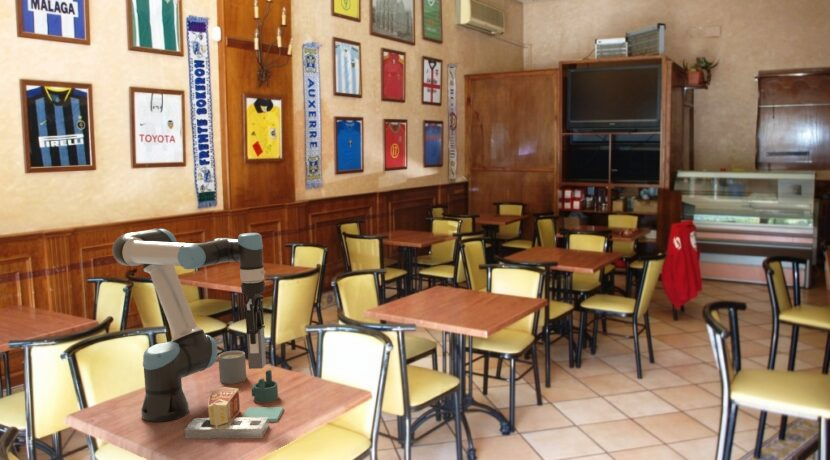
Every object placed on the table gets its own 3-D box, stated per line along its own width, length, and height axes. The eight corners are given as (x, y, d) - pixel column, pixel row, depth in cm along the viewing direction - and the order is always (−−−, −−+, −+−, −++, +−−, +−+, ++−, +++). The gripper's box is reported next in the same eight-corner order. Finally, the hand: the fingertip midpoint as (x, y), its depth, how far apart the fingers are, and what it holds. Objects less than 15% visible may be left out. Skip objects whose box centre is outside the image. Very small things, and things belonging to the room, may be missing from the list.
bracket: (271, 392, 254) (270, 368, 253) (282, 399, 247) (281, 375, 246) (248, 398, 249) (246, 374, 248) (258, 405, 241) (257, 380, 240)
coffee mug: (239, 384, 263) (237, 359, 261) (215, 383, 265) (213, 357, 263) (254, 372, 276) (253, 348, 274) (231, 371, 278) (229, 347, 276)
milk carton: (240, 411, 236) (232, 432, 217) (212, 413, 235) (201, 435, 215) (238, 385, 236) (229, 403, 216) (210, 387, 235) (199, 406, 215)
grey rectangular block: (248, 368, 227) (246, 329, 225) (252, 364, 231) (250, 326, 229) (262, 368, 226) (260, 329, 225) (265, 364, 231) (263, 326, 229)
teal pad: (240, 422, 227) (240, 419, 227) (248, 410, 237) (248, 407, 237) (277, 421, 227) (276, 418, 227) (283, 409, 237) (283, 407, 237)
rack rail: (185, 438, 215) (184, 429, 215) (194, 426, 224) (194, 417, 224) (261, 438, 215) (261, 428, 214) (268, 426, 224) (268, 416, 223)
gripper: (256, 286, 216) (260, 358, 219) (271, 275, 234) (274, 342, 237) (232, 286, 217) (237, 358, 220) (249, 275, 234) (253, 343, 237)
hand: (256, 350), depth 228 cm, fingers closed on grey rectangular block, 4 cm apart
